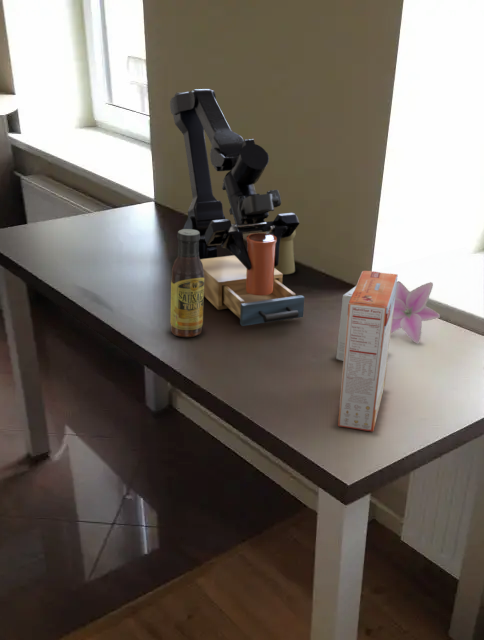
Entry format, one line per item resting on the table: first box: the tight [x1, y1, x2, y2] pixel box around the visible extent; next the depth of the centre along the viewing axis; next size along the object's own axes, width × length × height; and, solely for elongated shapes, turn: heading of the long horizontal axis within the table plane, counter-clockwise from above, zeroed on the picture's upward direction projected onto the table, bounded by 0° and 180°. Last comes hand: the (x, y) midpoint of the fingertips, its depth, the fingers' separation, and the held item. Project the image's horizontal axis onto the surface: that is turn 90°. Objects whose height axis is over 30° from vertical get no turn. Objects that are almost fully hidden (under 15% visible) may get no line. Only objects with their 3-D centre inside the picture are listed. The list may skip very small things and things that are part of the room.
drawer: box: [222, 279, 305, 327], centre depth 150 cm, size 17×13×4 cm
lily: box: [391, 280, 441, 345], centre depth 145 cm, size 12×12×10 cm
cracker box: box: [337, 270, 399, 432], centre depth 114 cm, size 14×6×21 cm, turn 163°
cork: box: [274, 229, 297, 275], centre depth 173 cm, size 6×6×11 cm
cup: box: [245, 232, 277, 295], centre depth 148 cm, size 6×6×11 cm
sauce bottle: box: [169, 228, 205, 338], centre depth 139 cm, size 7×6×20 cm
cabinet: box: [200, 254, 284, 311], centre depth 161 cm, size 15×15×6 cm
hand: (263, 267), depth 147 cm, fingers closed on cup, 5 cm apart
